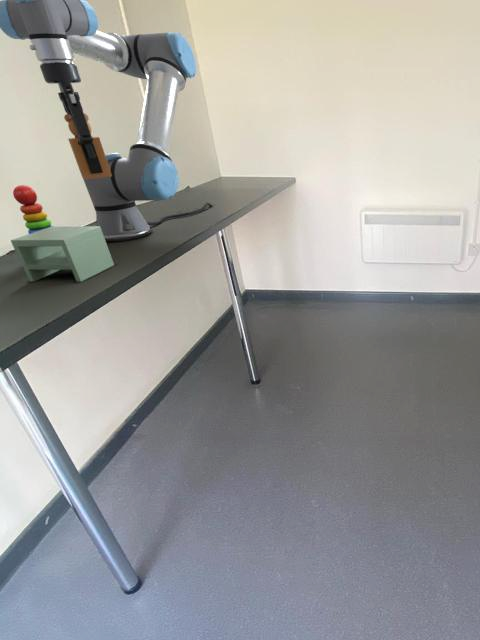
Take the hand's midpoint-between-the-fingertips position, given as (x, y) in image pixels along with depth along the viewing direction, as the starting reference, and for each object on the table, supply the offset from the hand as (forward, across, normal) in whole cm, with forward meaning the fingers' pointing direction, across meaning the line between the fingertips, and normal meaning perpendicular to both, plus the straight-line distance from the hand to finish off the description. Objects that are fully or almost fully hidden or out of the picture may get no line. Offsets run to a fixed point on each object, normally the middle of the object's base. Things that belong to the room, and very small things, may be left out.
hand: (95, 171), depth 125 cm
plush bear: (+1, 0, 0) cm, 1 cm away
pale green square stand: (+21, +10, -14) cm, 27 cm away
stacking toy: (+21, -13, -17) cm, 30 cm away
